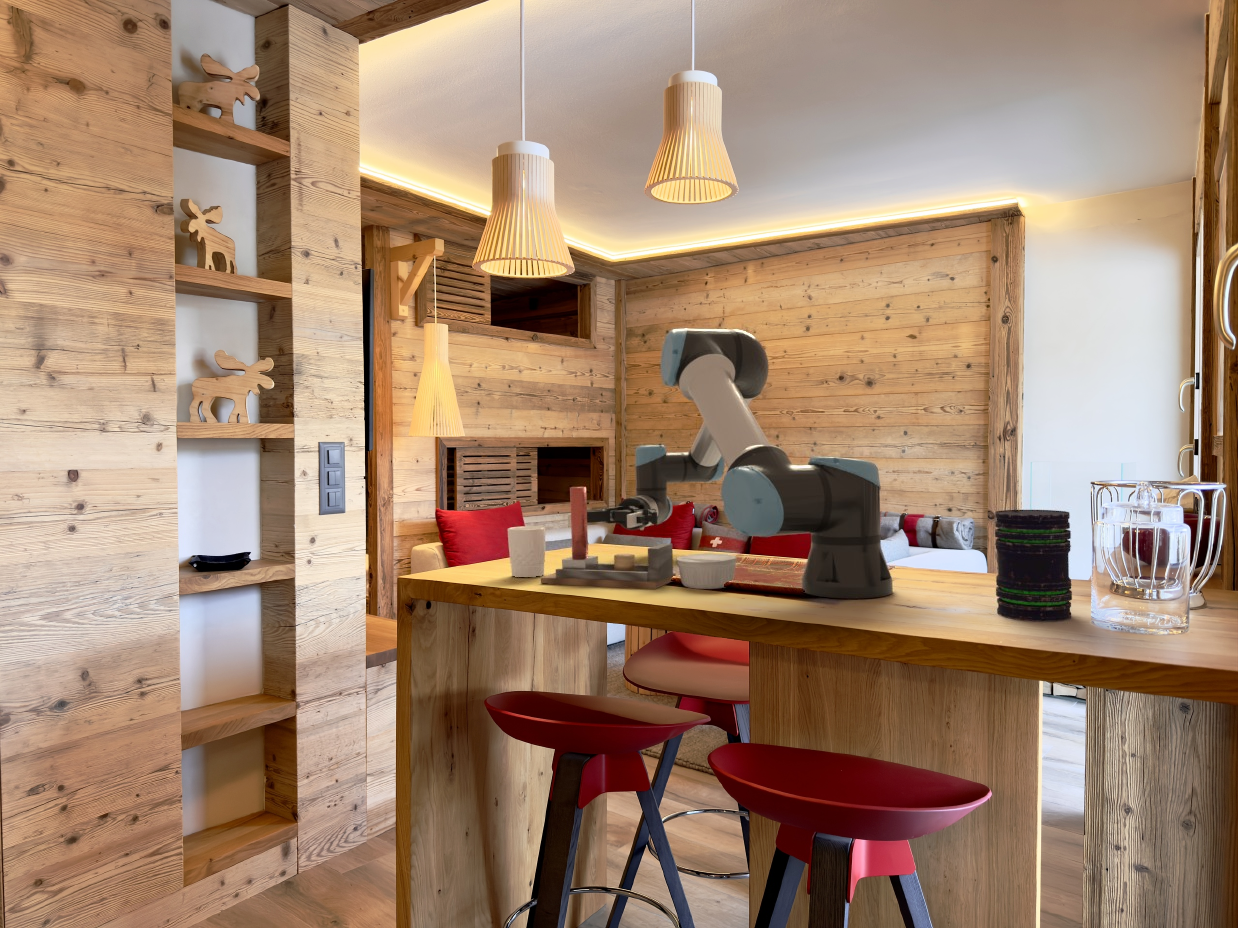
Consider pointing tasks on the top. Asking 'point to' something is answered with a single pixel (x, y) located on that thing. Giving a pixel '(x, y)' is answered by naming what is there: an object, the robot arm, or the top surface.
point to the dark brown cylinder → (1033, 565)
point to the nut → (624, 562)
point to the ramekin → (706, 570)
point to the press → (622, 573)
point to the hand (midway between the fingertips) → (598, 520)
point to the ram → (579, 533)
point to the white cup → (527, 550)
